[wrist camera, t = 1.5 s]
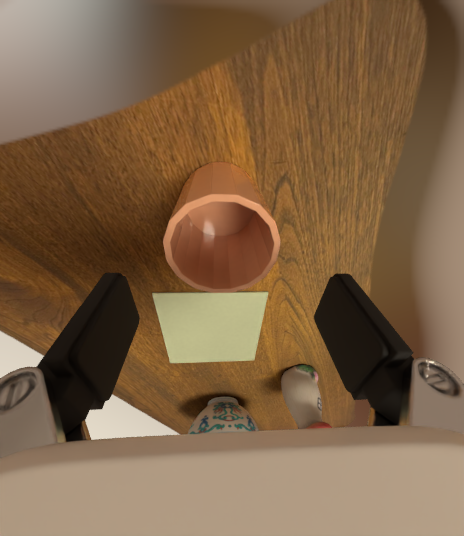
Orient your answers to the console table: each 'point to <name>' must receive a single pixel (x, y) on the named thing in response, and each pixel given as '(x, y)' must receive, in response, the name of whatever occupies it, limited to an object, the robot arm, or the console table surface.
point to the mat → (210, 325)
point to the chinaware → (223, 418)
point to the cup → (221, 231)
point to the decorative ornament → (303, 396)
